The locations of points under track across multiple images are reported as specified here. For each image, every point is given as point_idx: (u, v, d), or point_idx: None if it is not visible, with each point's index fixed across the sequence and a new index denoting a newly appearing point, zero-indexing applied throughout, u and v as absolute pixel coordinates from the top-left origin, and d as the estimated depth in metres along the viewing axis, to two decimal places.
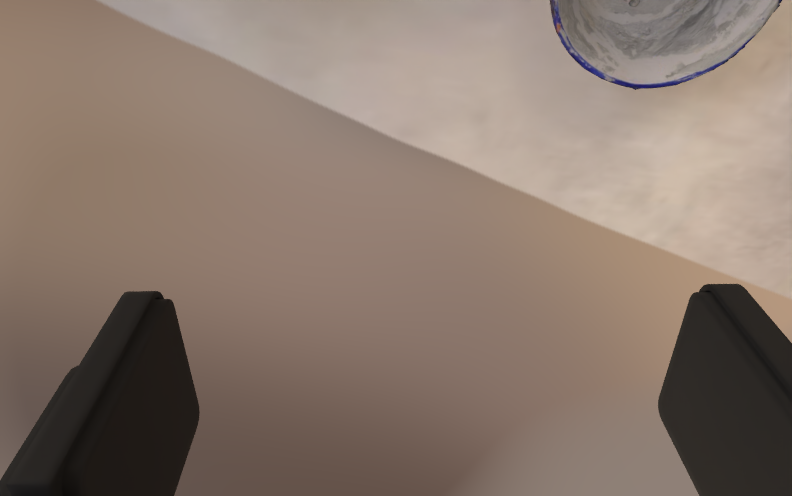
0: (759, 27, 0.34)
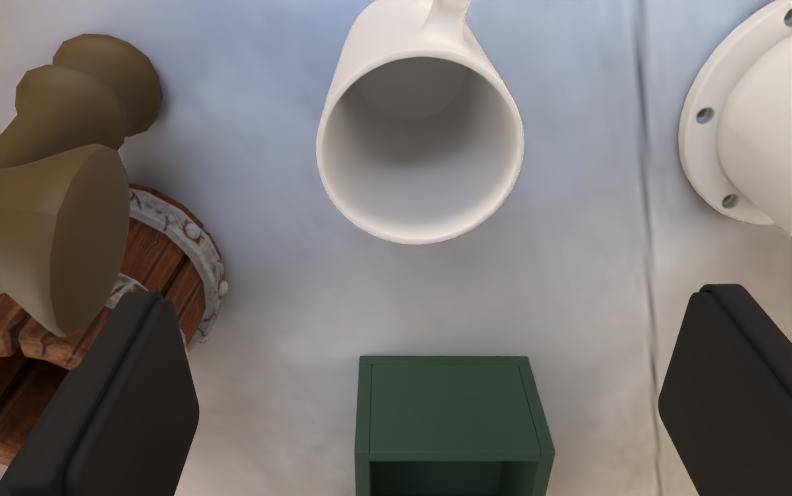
0: None
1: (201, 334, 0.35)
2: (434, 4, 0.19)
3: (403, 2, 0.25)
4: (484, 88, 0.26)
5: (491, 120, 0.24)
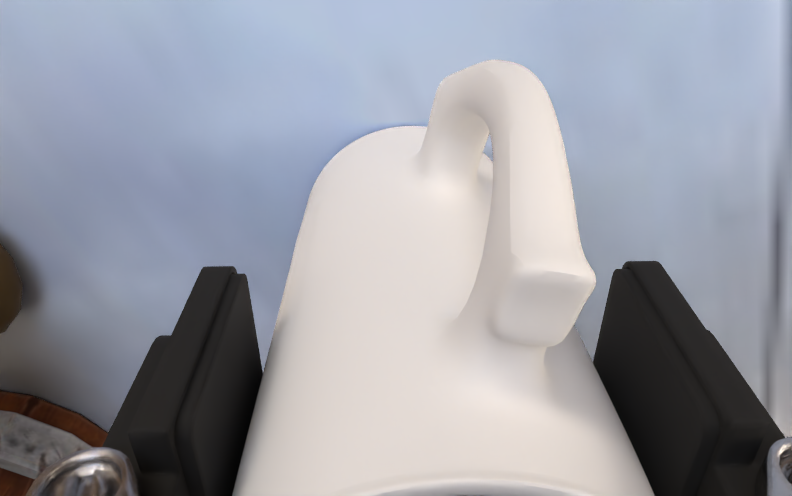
0: None
1: None
2: (478, 315, 0.08)
3: (399, 177, 0.14)
4: None
5: None
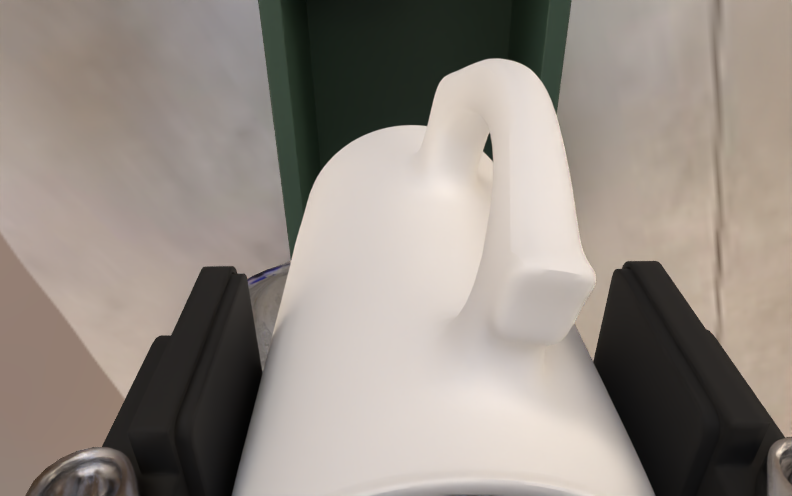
0: None
1: None
2: (478, 314, 0.08)
3: (399, 176, 0.14)
4: None
5: None
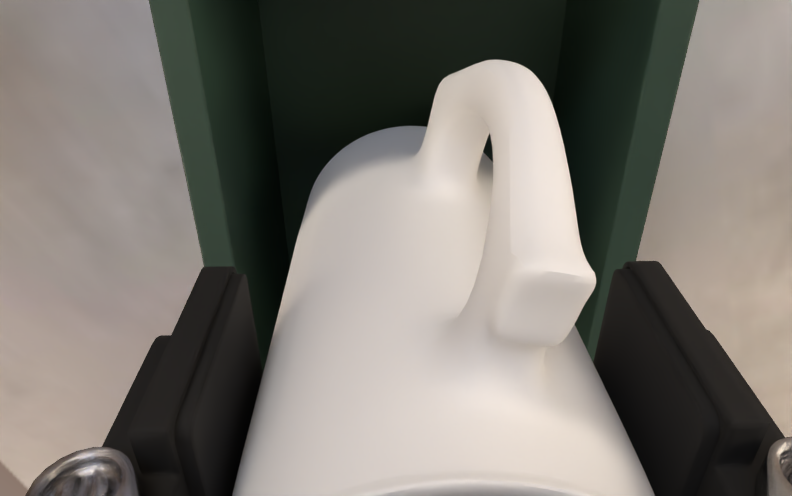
0: None
1: None
2: (478, 315, 0.08)
3: (399, 176, 0.14)
4: None
5: None
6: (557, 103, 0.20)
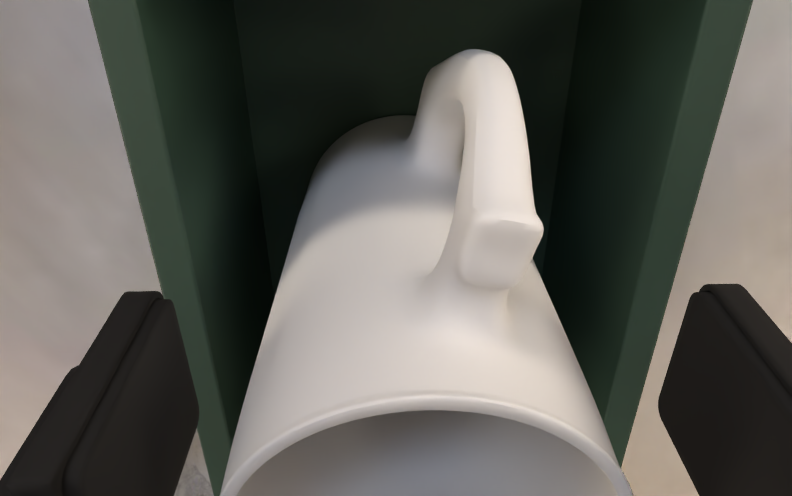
0: None
1: None
2: (447, 264, 0.09)
3: (391, 159, 0.15)
4: None
5: None
6: (567, 137, 0.18)
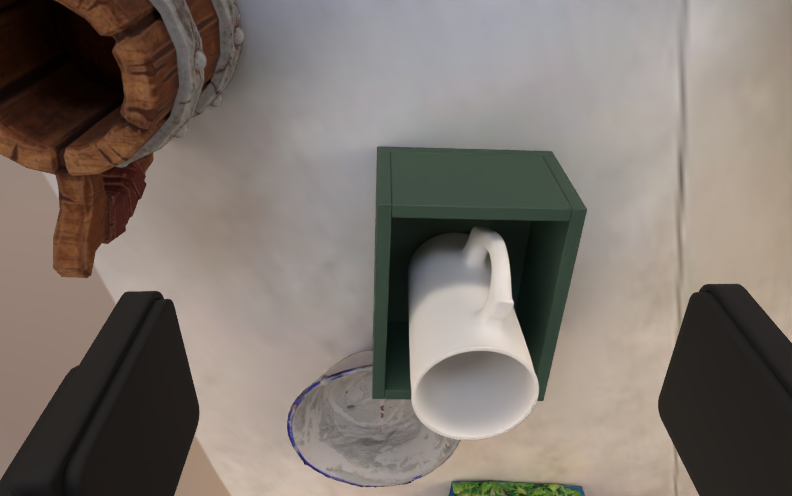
0: (389, 485, 0.49)
1: (214, 90, 0.33)
2: (486, 310, 0.31)
3: (456, 259, 0.38)
4: None
5: None
6: (529, 245, 0.41)
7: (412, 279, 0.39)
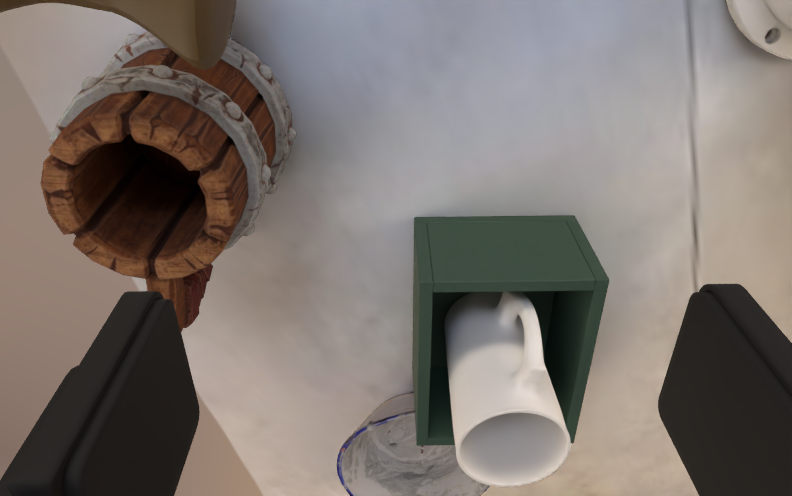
0: None
1: (270, 181, 0.37)
2: (521, 374, 0.35)
3: (490, 319, 0.41)
4: None
5: None
6: (556, 299, 0.44)
7: (449, 335, 0.43)
